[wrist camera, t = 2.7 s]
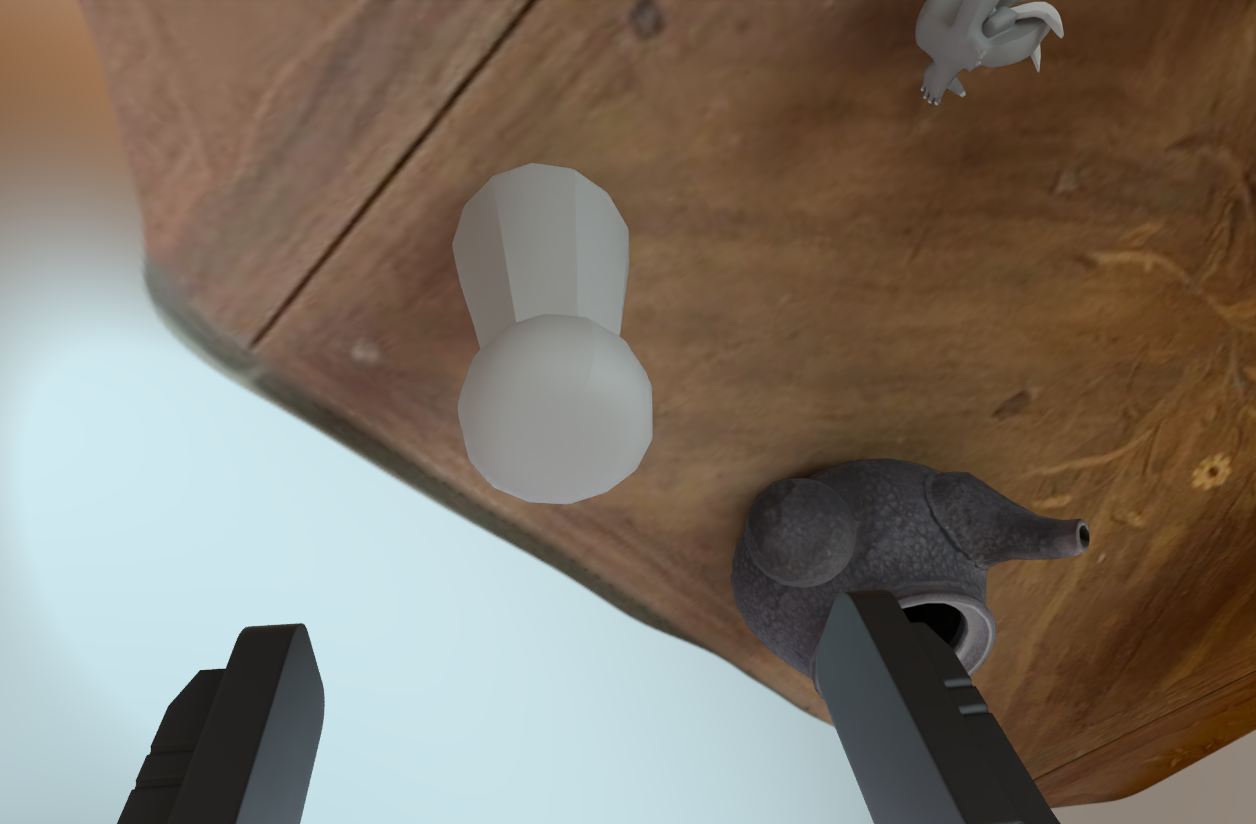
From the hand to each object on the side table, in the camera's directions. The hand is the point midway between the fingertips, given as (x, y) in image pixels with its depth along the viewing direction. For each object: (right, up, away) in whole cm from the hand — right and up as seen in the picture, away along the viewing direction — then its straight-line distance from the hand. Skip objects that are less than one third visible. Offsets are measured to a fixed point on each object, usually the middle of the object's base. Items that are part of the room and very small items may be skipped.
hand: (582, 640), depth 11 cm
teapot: (+10, 0, +24) cm, 26 cm away
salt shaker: (-2, +10, +15) cm, 18 cm away
